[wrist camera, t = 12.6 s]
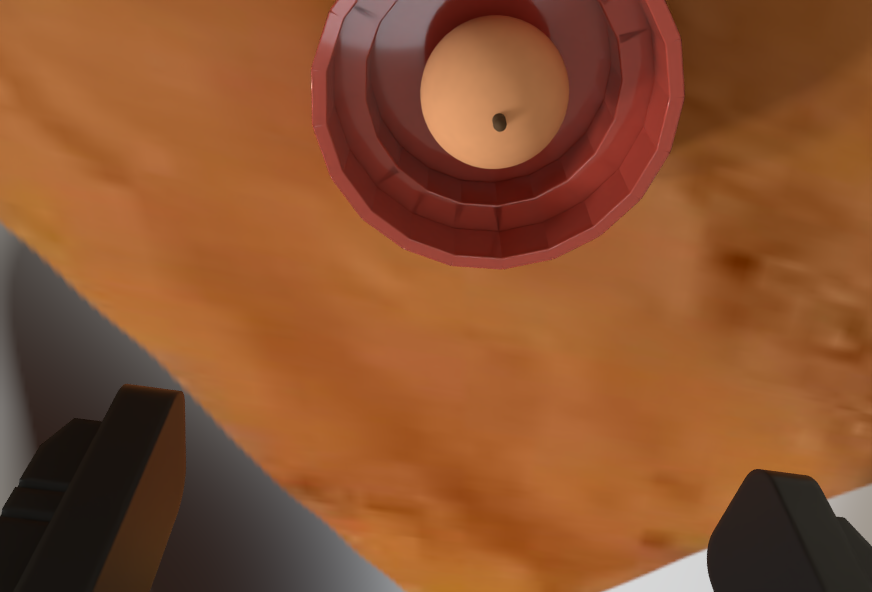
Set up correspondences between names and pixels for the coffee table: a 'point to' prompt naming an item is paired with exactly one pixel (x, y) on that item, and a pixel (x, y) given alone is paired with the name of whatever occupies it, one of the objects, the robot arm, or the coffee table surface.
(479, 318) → the coffee table surface
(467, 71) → the peach
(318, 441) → the coffee table surface
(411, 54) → the bowl
